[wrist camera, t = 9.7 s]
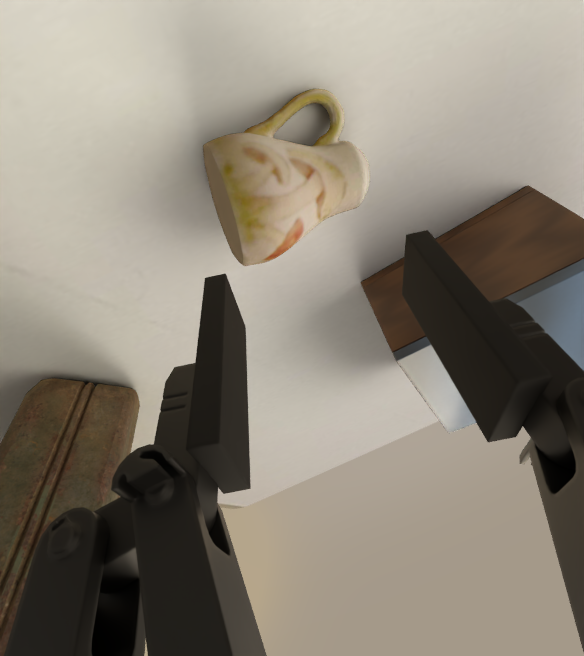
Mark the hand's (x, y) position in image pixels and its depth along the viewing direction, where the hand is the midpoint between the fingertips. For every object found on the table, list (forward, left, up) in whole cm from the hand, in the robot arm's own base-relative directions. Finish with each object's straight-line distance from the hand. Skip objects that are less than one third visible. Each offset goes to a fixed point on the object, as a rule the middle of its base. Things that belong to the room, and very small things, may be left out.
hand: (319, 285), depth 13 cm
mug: (0, 0, -13) cm, 13 cm away
